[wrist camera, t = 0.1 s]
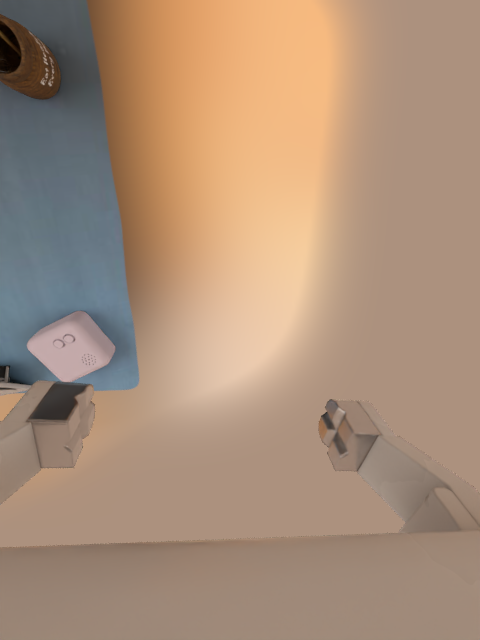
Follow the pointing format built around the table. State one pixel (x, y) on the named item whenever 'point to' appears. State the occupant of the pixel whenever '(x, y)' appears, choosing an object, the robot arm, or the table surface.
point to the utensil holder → (26, 62)
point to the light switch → (3, 386)
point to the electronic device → (72, 346)
